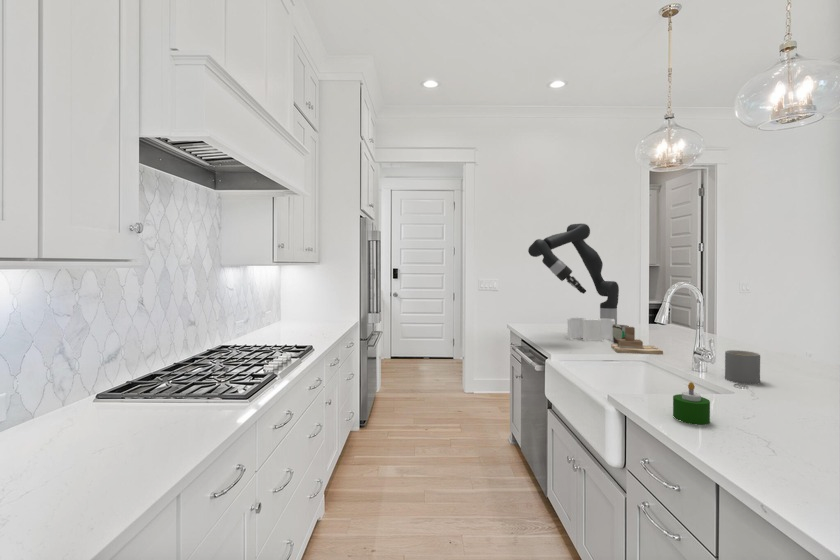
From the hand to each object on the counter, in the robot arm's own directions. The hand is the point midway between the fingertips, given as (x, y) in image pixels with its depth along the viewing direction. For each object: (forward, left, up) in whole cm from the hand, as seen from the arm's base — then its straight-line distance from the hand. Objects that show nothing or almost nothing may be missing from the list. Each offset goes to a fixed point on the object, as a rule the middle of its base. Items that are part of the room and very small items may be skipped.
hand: (583, 292), depth 214 cm
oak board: (+4, +24, -29) cm, 37 cm away
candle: (+103, +14, -29) cm, 108 cm away
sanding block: (+4, +21, -27) cm, 35 cm away
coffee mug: (+54, +47, -29) cm, 77 cm away
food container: (-14, +22, -29) cm, 39 cm away
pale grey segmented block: (-25, +7, -29) cm, 39 cm away
